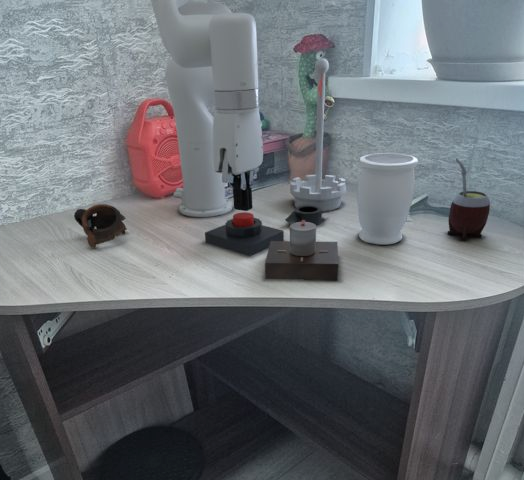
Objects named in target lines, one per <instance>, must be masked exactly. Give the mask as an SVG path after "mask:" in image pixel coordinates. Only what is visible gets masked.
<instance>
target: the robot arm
mask: <svg viewBox="0 0 524 480" xmlns="http://www.w3.org/2000/svg"><path fill="white" fill-rule="evenodd" d="M150 4H151V7H152V10H153V13H154V17H155V18H154V19H155V21H156V25H157V28H158V32H159V35H160V38H161V41H162V44H163V46H164V49H165V51H166V52H167V53H168V54H170V57H171V59H170V60H168V63H167V65H166V66H165V74H164V75H165V84H166V87H167V91H168V95H169V98H170V99H169V100H170V102H171V106H172V111H173V116H174V122H175V128H176V137H177V145H178V146H177V147H178V153H179V160H180V161H179V162H180V169H181V178H182V185H183V187H176V189H175V191H174V192H173V198H175V199H180V200H181V204H180V205H179V207H178V208H179V213H180V214H182V215H184V216H187V217H192V218H210V217H217V216H221V215H225V214H227V213H230V212H231V211H232V210H233V209H234V210H237V211H243V212H248V211H250V210H252V209H253V188H252V187H253V186H254V176H255V175H256V174H257V173H258V172H259V171H260V166H261V165H262V164H263V161H264V143H263V142H264V141H263V130H262V121H261V114H260V93H259V92H260V89H259V64H258V63H259V62H258V39H257V37H258V35H257V34H258V33H257V23H256V20H255V17H254V16H253V15H252V14H251V13H246V12H232V11H231V9H230V8H229V7H228V6H227V5H225V4H223V3H220V2H211V1H210V2H205V1H204V2H203V1H202V2H201V1H200V2H199V1H196V0H150ZM211 106H214V107H215V112H214V113H213V115H212V114H211V112H210V111H209V109H208V107H211ZM226 184H229V187H230V189H231V190H232V200H233V201H231V200H230V199H227V198H226V186H225V185H226Z"/></svg>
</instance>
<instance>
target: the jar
mask: <svg viewBox="0 0 524 480" xmlns="http://www.w3.org/2000/svg"><path fill="white" fill-rule="evenodd" d="M418 164H419V158H417V156H415V155H411V154H406V153H399V152H378V153H377V152H376V153H370V154H365V155H363V156H360V157H359V165H360V166H361V170H360V173H359V177H358V182H357V188H356V189H357V191H356V202H357V208H358V209H357V214H358V215H357V216H358V222H359V225H360V227H361V230H360V231H359V235H358V237H359V238H360V240H361V241H363V242H365V243H368V244H372V245H379V246H381V245H382V246H385V245H387V246H388V245H393V244H397V243H398V242H400V241H401V240H402V239H403V233H402V232H401V231H402V230H403V228H404V227H405V224H406V223H407V220H408V217H409V213H410V210H411V208H412V207H411V206H412V204H413V200H414V194H415V187H416V186H415V185H416V183H415V182H416V178H415V171H414V170H415V168H416V167H417V166H418Z"/></svg>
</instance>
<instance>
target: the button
mask: <svg viewBox="0 0 524 480" xmlns="http://www.w3.org/2000/svg"><path fill="white" fill-rule="evenodd" d="M254 218H255V216H254V214H253V213H251V212H248V211H243V212H242V211H241V212H236V213H234V214H233V215H232V219H233V225H234V226H239V227H245V226H251V225H253V224H254Z"/></svg>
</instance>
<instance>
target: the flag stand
mask: <svg viewBox="0 0 524 480" xmlns="http://www.w3.org/2000/svg"><path fill="white" fill-rule="evenodd" d="M329 68H330V63H329V61H328V59H326V58H324V57H321V58H319V59H317V60H316V61H315V63H314V70H315V72H316V74H317V97H316V98H317V99H316V129H315V131H316V132H315V133H316V134H315V136H316V137H315V169H314V170H315V172H314V173H315V174H307V175H305V180H302V179H301V177H298V176H297V177H294V178H292V179H291V181H290V183H289V185H290V186H289V191H290V192H289V193H290V194H291V195H292V197H294V207H295V208H297V207H299V206H305V205H312V206H318V207H320V208H322V211H332V210H336V209H338V208H340V207H341V204H342V197H343V196H344V195H346V193H347V180H346V179H345V178H343V177H339V178H338V181H337V180H336V175H331V174H325V175H324V179H322V178H323V175H322V174H323V151H324V122H325V119H324V118H325V94H326V93H325V92H326V91H325V90H326V74H327V72H328V71H329Z"/></svg>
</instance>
